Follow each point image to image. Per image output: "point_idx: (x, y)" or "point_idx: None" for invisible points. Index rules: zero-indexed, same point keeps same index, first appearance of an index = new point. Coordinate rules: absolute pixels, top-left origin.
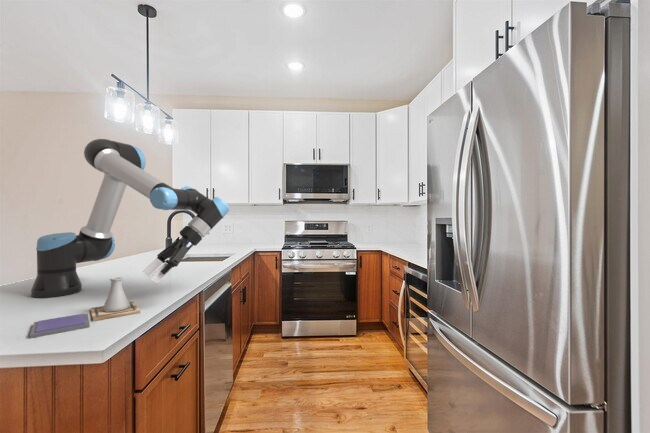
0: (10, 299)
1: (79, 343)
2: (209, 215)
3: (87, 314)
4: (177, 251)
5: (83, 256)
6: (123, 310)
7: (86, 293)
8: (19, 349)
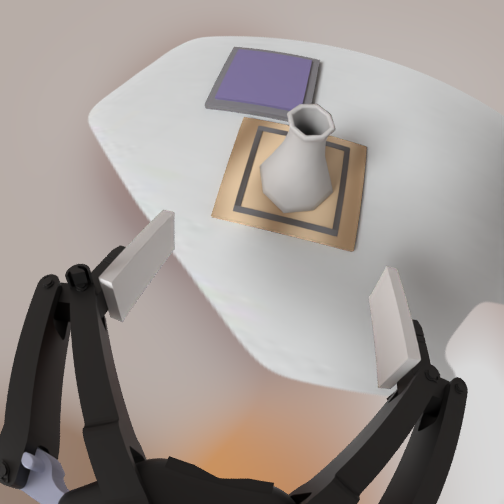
0: None
1: (134, 91)
2: None
3: None
4: (86, 410)
5: None
6: (261, 186)
7: None
8: (192, 44)
